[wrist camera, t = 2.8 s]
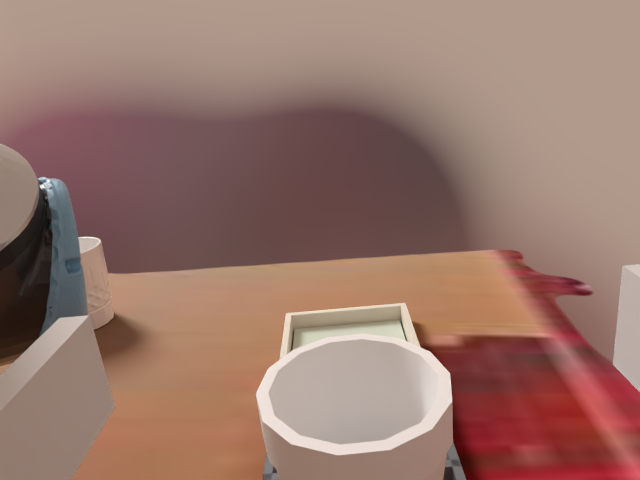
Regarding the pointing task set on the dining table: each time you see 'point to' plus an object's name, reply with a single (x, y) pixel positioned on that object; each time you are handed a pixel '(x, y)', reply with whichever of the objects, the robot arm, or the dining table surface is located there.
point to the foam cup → (357, 411)
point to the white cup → (96, 281)
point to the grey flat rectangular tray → (349, 323)
